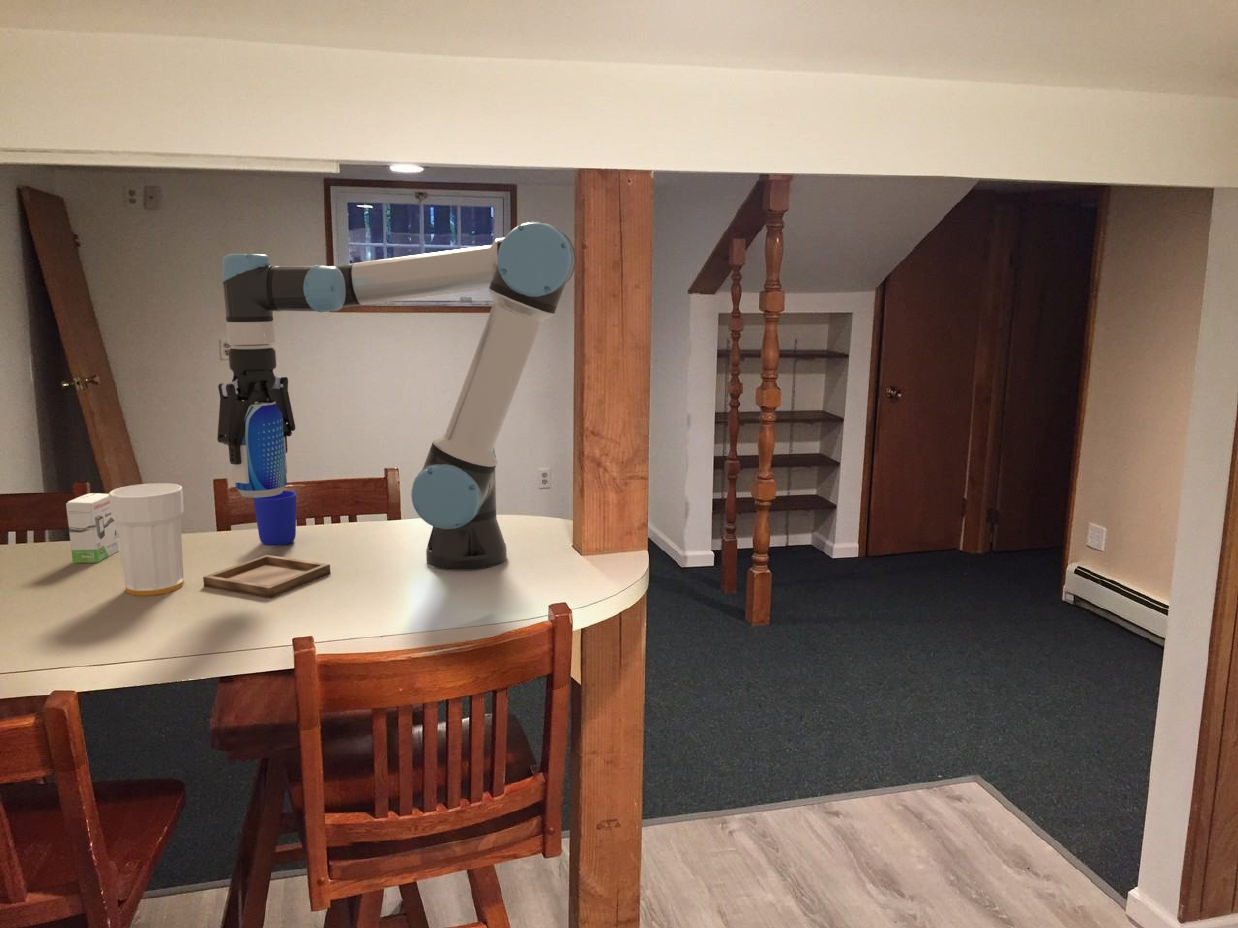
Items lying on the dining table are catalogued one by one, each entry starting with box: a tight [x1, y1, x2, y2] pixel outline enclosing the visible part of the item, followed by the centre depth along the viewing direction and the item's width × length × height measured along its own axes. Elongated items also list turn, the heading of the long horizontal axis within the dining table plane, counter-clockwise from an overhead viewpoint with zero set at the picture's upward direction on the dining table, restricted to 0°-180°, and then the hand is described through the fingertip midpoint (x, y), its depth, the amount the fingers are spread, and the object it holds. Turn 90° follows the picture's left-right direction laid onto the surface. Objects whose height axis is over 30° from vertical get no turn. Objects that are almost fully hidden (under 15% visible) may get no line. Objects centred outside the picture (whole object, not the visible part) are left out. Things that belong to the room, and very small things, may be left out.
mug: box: [252, 490, 297, 547], centre depth 199 cm, size 8×12×10 cm
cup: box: [108, 482, 185, 597], centre depth 168 cm, size 11×11×17 cm
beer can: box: [234, 401, 288, 499], centre depth 169 cm, size 8×8×16 cm
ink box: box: [65, 492, 120, 564], centre depth 187 cm, size 9×5×12 cm, turn 0°
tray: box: [202, 554, 331, 599], centre depth 173 cm, size 15×15×2 cm
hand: (261, 477), depth 170 cm, fingers closed on beer can, 8 cm apart
